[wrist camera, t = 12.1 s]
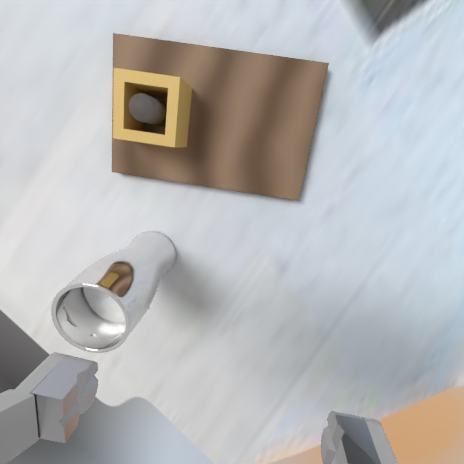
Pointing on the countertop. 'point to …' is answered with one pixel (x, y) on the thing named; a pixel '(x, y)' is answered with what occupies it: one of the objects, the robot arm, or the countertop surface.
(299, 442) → the countertop surface
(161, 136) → the sleeve
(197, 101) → the base plate
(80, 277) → the beer glass
